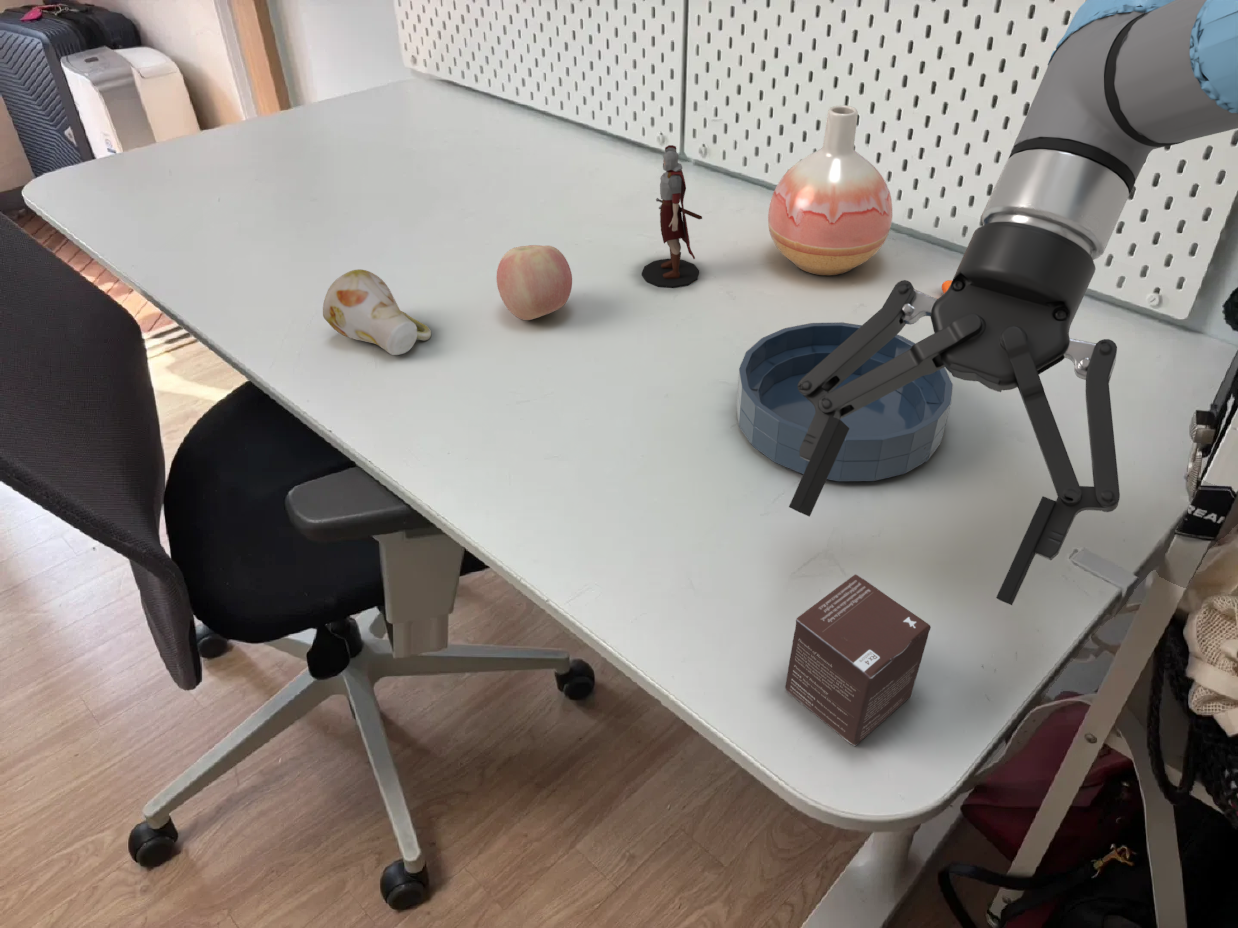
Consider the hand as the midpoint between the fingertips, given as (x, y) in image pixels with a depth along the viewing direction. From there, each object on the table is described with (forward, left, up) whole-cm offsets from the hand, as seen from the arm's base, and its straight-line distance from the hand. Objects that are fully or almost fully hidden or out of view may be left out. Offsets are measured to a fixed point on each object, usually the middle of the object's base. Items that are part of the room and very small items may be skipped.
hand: (895, 555), depth 59 cm
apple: (+49, -22, -10) cm, 54 cm away
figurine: (+42, -38, -10) cm, 57 cm away
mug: (+59, -9, -10) cm, 60 cm away
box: (0, +4, -10) cm, 11 cm away
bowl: (+14, -23, -10) cm, 28 cm away
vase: (+29, -50, -10) cm, 58 cm away
